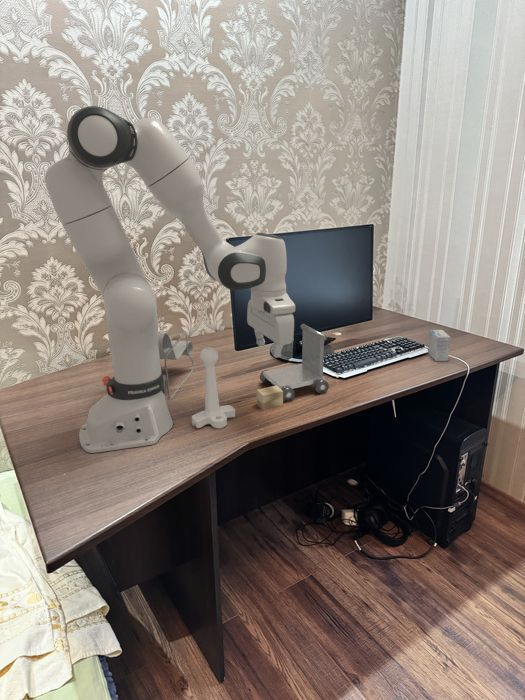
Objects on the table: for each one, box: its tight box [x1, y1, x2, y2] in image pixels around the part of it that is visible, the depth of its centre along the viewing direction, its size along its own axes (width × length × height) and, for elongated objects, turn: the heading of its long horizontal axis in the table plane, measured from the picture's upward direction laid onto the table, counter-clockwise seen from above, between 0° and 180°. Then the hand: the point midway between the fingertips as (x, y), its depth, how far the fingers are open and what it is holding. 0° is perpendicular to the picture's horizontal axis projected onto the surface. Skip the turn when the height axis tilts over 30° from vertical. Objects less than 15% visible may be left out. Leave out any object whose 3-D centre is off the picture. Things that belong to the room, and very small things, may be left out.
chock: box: [256, 385, 284, 411], centre depth 126 cm, size 6×4×4 cm, turn 115°
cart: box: [259, 323, 330, 403], centre depth 134 cm, size 15×15×17 cm
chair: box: [158, 331, 195, 400], centre depth 139 cm, size 13×25×20 cm, turn 171°
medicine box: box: [427, 329, 451, 362], centre depth 157 cm, size 8×4×9 cm, turn 179°
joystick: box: [191, 346, 236, 429], centre depth 115 cm, size 11×8×20 cm
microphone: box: [324, 336, 337, 345], centre depth 170 cm, size 6×6×20 cm
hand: (268, 350), depth 121 cm, fingers open, 8 cm apart
